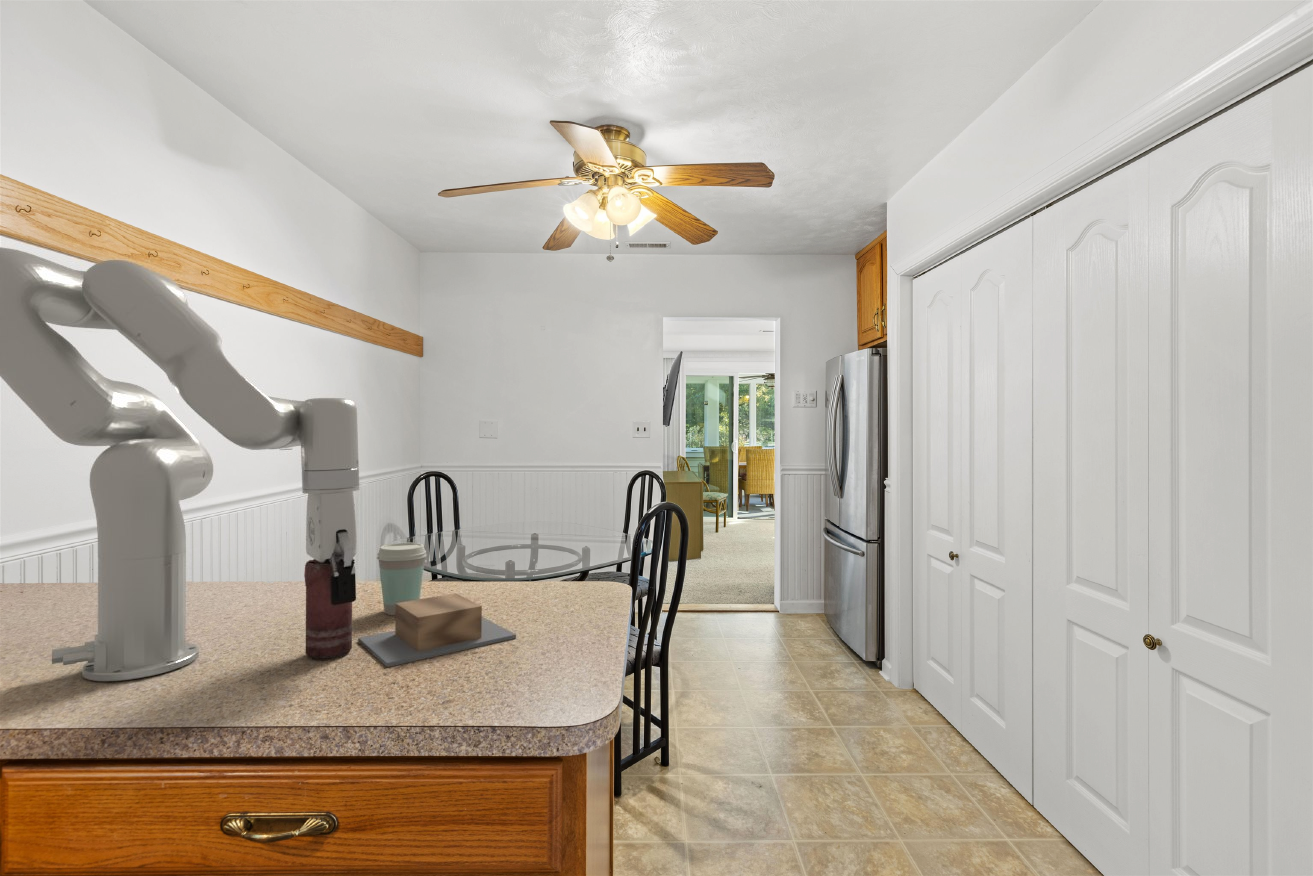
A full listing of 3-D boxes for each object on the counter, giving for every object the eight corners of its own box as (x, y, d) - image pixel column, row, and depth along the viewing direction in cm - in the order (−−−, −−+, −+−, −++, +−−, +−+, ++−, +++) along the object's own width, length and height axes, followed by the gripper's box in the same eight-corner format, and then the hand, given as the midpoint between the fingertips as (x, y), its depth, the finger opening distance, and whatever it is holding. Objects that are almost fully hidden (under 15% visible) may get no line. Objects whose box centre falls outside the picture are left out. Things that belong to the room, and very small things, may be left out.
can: (305, 650, 94) (305, 557, 94) (352, 644, 97) (352, 554, 97) (301, 663, 89) (302, 565, 89) (351, 657, 92) (352, 561, 91)
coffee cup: (434, 605, 119) (434, 542, 119) (412, 618, 111) (412, 550, 111) (391, 603, 120) (392, 541, 120) (366, 616, 112) (367, 549, 112)
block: (417, 651, 93) (418, 617, 93) (395, 634, 100) (395, 603, 100) (481, 637, 99) (481, 606, 99) (455, 622, 107) (455, 593, 107)
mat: (387, 667, 88) (387, 662, 88) (358, 641, 99) (358, 637, 98) (516, 638, 101) (516, 634, 101) (478, 618, 112) (478, 614, 112)
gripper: (290, 480, 97) (293, 590, 97) (316, 486, 84) (320, 614, 84) (342, 477, 102) (346, 582, 102) (375, 482, 89) (379, 603, 89)
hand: (334, 596), depth 93 cm, fingers open, 9 cm apart
